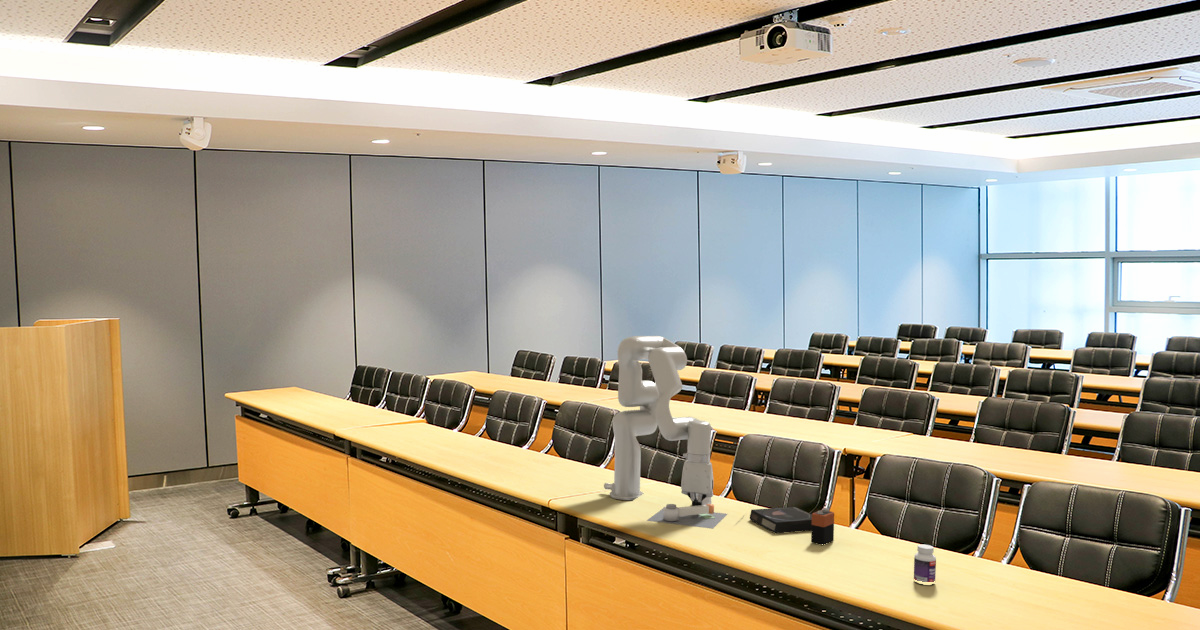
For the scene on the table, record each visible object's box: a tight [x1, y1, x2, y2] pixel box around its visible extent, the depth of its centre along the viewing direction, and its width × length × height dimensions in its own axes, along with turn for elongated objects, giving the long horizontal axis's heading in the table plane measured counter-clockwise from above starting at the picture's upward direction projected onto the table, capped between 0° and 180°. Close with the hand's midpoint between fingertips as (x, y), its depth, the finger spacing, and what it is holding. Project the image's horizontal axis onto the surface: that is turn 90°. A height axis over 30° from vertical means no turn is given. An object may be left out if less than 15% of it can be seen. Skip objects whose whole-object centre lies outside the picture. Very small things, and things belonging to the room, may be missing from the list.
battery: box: [810, 507, 835, 546], centre depth 270 cm, size 4×7×10 cm, turn 138°
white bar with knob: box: [662, 503, 715, 521], centre depth 289 cm, size 5×18×5 cm, turn 113°
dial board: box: [646, 508, 728, 529], centre depth 291 cm, size 22×20×2 cm
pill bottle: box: [913, 543, 937, 582], centre depth 234 cm, size 5×5×10 cm
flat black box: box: [749, 506, 813, 534], centre depth 289 cm, size 16×17×4 cm
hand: (696, 512), depth 294 cm, fingers closed
